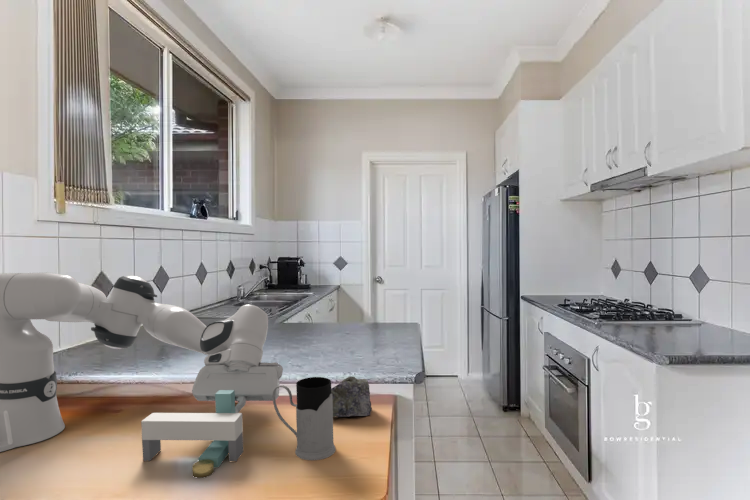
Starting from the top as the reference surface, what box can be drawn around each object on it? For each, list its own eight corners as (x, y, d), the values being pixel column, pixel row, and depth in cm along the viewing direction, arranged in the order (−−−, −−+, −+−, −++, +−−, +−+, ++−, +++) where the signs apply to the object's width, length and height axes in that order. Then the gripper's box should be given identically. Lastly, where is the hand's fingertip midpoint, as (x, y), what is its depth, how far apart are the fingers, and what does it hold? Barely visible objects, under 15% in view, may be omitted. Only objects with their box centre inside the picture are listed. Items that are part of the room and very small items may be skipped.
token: (188, 478, 92) (188, 469, 92) (198, 467, 96) (198, 459, 96) (208, 478, 92) (208, 469, 92) (217, 468, 96) (217, 459, 96)
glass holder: (326, 462, 97) (325, 390, 97) (264, 454, 101) (262, 385, 101) (341, 443, 106) (339, 377, 105) (283, 437, 110) (281, 373, 109)
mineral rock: (315, 420, 120) (313, 380, 119) (331, 404, 130) (330, 368, 129) (363, 425, 116) (362, 385, 115) (376, 409, 126) (375, 371, 125)
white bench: (143, 460, 100) (141, 421, 99) (154, 450, 104) (152, 412, 104) (236, 461, 98) (234, 421, 98) (243, 451, 103) (242, 413, 103)
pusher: (198, 467, 96) (196, 409, 96) (220, 441, 108) (218, 390, 107) (218, 467, 96) (216, 409, 96) (237, 442, 108) (235, 390, 107)
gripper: (286, 368, 119) (277, 423, 110) (206, 369, 120) (191, 423, 111) (281, 356, 115) (271, 411, 105) (198, 356, 116) (182, 411, 106)
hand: (230, 417), depth 108 cm, fingers closed, pressing on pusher
